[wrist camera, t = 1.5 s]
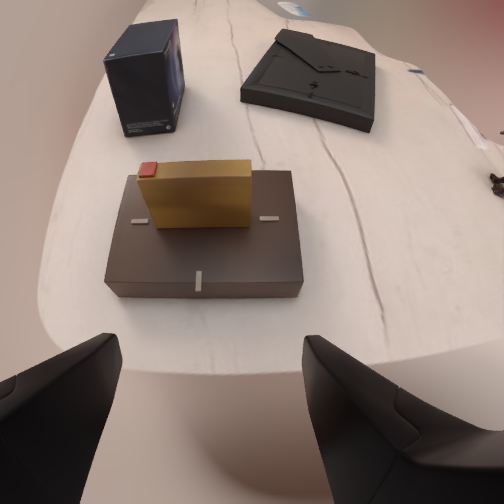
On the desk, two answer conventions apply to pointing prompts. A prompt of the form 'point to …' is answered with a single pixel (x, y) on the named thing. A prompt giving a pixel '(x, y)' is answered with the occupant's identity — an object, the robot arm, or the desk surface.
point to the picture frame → (315, 80)
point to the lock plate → (210, 249)
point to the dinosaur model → (499, 180)
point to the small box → (147, 77)
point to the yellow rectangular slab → (197, 193)
